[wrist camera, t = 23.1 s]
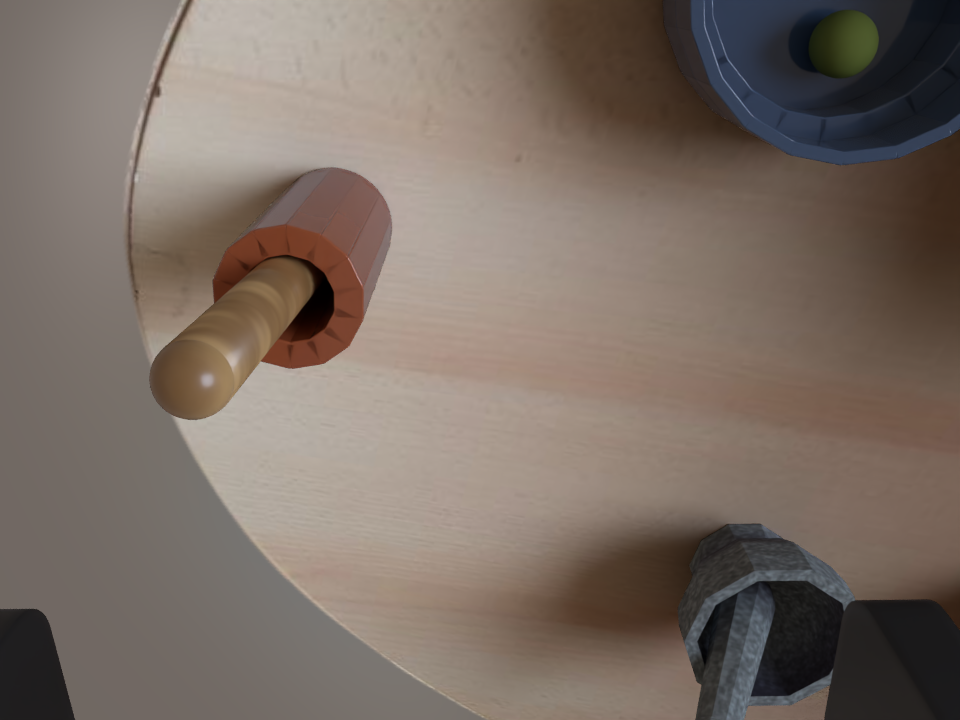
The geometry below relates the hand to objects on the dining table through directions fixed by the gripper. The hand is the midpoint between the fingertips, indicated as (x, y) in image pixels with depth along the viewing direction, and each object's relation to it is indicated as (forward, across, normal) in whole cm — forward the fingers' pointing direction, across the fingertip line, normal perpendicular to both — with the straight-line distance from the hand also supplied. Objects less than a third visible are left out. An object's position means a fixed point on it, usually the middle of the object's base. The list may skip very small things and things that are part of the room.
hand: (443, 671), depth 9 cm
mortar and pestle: (+38, -15, +27) cm, 49 cm away
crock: (+38, +8, +5) cm, 39 cm away
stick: (+37, +7, +5) cm, 38 cm away
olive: (+36, -17, -4) cm, 40 cm away
